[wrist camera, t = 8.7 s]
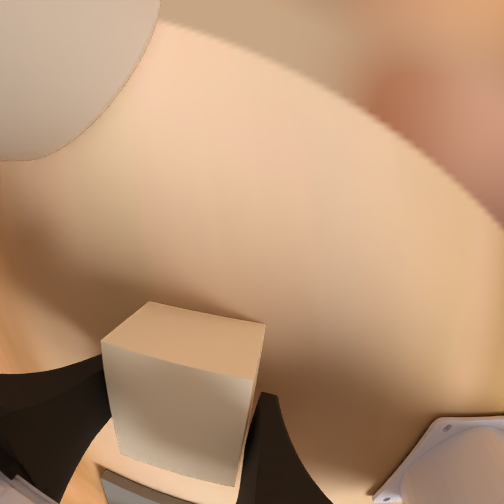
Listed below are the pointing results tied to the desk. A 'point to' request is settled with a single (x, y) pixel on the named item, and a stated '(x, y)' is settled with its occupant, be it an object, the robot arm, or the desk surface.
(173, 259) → the desk surface
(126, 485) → the baseplate
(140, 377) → the cream brick
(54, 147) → the cylinder vase
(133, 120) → the desk surface
